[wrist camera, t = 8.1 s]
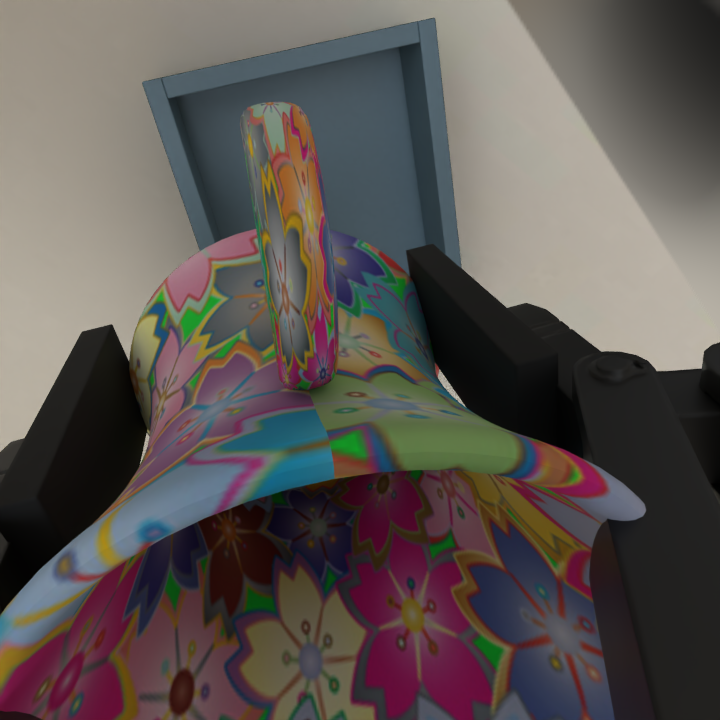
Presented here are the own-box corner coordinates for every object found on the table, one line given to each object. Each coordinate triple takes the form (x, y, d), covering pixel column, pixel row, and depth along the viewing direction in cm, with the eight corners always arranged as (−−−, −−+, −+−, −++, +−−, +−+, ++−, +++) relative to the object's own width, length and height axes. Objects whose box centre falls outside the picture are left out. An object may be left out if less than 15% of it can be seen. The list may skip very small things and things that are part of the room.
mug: (440, 459, 19) (631, 818, 10) (162, 510, 18) (91, 978, 9) (442, 67, 14) (884, 74, 4) (35, 98, 12) (-549, 204, 3)
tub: (407, 23, 28) (435, 17, 24) (443, 307, 35) (469, 335, 32) (153, 79, 27) (141, 82, 23) (247, 360, 34) (250, 396, 31)
